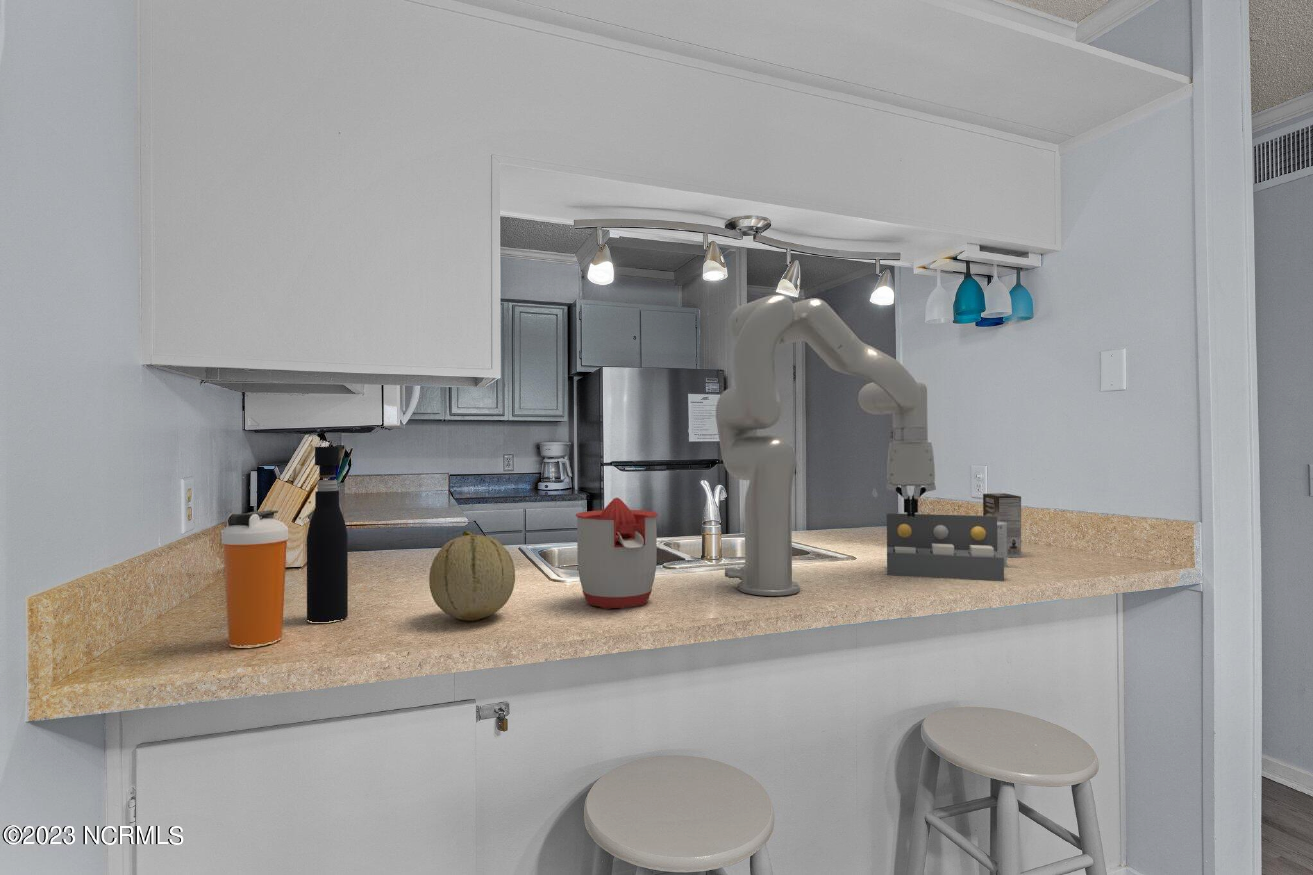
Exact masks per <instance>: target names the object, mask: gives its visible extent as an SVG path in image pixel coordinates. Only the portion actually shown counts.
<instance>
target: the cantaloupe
mask: <svg viewBox="0 0 1313 875" xmlns="http://www.w3.org/2000/svg"><path fill="white" fill-rule="evenodd" d="M462 535H463V536H459V537H455V538H453V539H451V540H449V541H447V542H446V543H444V545H443V546H442V547H441V548H440V550H438V552H437V554H436V555H435V556H434V558H433V560H432V563H431V566H430V568H429V574H428V577H429V579H428V582H429V584H428V585H429V590H430V593H431V597H432V599H433V601H434V602H435V604H436V605H437V607H438V608H439V609H440V610H441V611H442V612H444V613H445V614H446V615H448V616H449V617H452V618H455V619H458V620H462V621H469V622H476V621H478V620H481V619H484V618H487V617H490V616H492V615H494V614H496V613H497V612H499V610H501V609H502V608H503V607H504V606H505V605H506V604H507V603H508V601H509V600H510V598H511V596H512V594H513V591H514V588H515V583H516V569H515V564H514V559H513V558H512V555H511V554H510V552H509V551H508V550H507V548H506V547H505V546H504V545H503V544H502V543H501V542H500V541H498V539H494V538H492V537H490V536H486V535H481V534H473V533H472V532H471V531H468V530H464V531H462ZM475 620H476V621H475Z"/></svg>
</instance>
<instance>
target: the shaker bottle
mask: <svg viewBox="0 0 1313 875" xmlns="http://www.w3.org/2000/svg"><path fill="white" fill-rule="evenodd" d="M276 513H279V510H272V509H271V510H268V509H267V510H257V511H251V512H247V513H231V514H229V516H228V517H227V519H226V522H227V523H226V527H225V528H224V529H222V531H221V545H222V546H223V557H224V558H223V560H224V577H225V578H224V580H225V593H226V594H225V596H226V597H225V598H226V613H227V614H226V616H227V632H228V633H227V634H228V635H227V636H228V645H229V644H231V645H237V646H240V645H241V646H244V645H257V644H265V643H268V642H273V641H275V640H278V639H279V638H281V637H282V638H283V628H284V627H283V624H284V622H283V621H284V604H285V603H284V601H285V588H286V587H285V586H286V585H285V584H286V566H287V565H286V563H287V542H288V541H289V540H290V539H289V527H288V526H287V525H286V524H285V523H284V522H283V521H281V520H278V519H274V518H275V514H276Z"/></svg>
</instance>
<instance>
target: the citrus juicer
mask: <svg viewBox="0 0 1313 875" xmlns="http://www.w3.org/2000/svg"><path fill="white" fill-rule="evenodd" d="M658 515H659V513H658V512H656V511H651V510H650V511H649V510H639V509H630V508H629V507H628V505H627V504H626V503H625V502H624V501H623V500H622V499H621V498H620V497H614V498H613V499H612V500H611V501H610V502H609V503H608V504H607V505H606V506H605V508H604V509H602V510H591V511H590V510H589V511H582V512H578V513H576V514H575V517H576V521H577V522H576V526H577V527H576V528H577V529H576V532H577V533H576V534H577V539H576V542H577V545H576V546H577V548H576V549H577V551H576V553H577V554H576V556H577V572H578V577H579V583H580V585H581V589H582V593H583V596H584V599H585V601H586V603H587V604H588V605H591V606H594V607H600V608H601V609H602V610H610V609H611V610H612V609H613V608H617V609H618V608H619V609H620V608H630V607H641V606H644V605H645V604H646V603H647V602H648V601H649V598H650V597H651V594H652V590H653V585H654V581H655V579H656V578H655V577H656V572H657V560H658V556H657V555H658V554H657V552H658V551H657V550H658V549H657V546H658V545H657V544H658V542H657V540H658V539H657V531H658V530H657V517H658Z"/></svg>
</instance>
